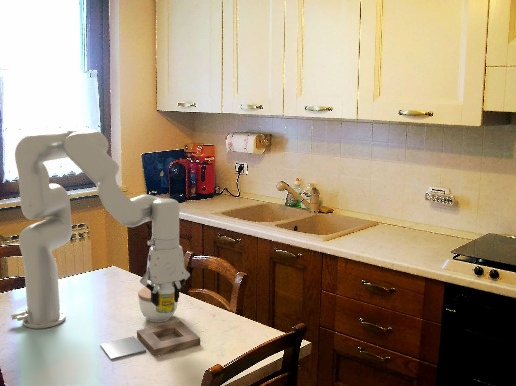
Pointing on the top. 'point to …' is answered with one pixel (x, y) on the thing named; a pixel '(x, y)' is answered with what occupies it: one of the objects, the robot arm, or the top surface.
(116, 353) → the coaster
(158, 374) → the top surface
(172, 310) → the supplement bottle
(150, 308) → the lidded bowl
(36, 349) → the top surface
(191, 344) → the socket board
